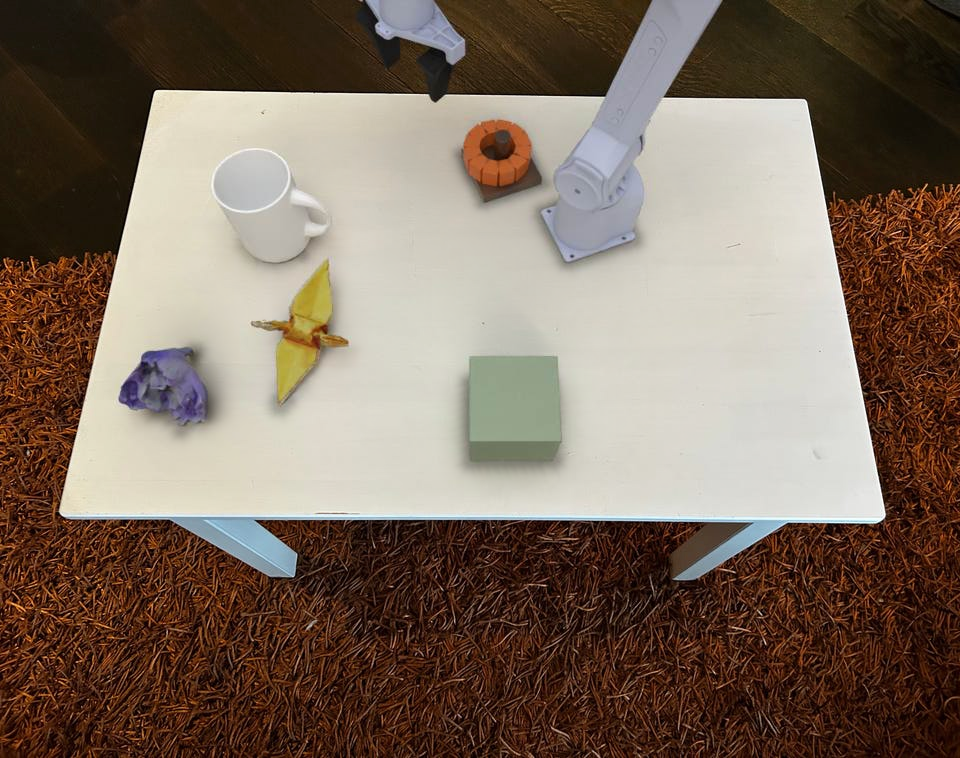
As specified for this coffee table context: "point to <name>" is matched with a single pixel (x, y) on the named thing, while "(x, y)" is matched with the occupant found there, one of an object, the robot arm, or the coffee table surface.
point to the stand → (500, 153)
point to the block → (514, 408)
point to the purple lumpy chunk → (166, 385)
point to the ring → (492, 169)
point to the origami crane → (304, 331)
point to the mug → (265, 204)
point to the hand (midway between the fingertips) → (415, 79)
